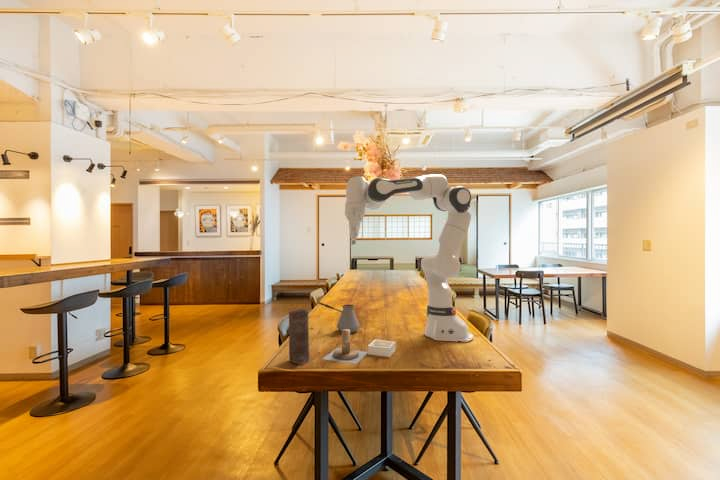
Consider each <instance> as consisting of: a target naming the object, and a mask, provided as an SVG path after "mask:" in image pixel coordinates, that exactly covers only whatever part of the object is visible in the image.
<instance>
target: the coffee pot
mask: <svg viewBox="0 0 720 480" xmlns="http://www.w3.org/2000/svg"><path fill="white" fill-rule="evenodd" d="M318 305H320V306H323V307H326V308H329V309H330V310H335V311H337V312H339V313H341V314H340V316H339V318H338V321H337V323H336V328H337V329H338V331H340V332H341V333H342V330H343V329H350V334H354V333H356V331H358V330H359V328H360V323H359V320H358V318H357V315H356V313H355V311H354V308H355V305H354V304H351V303H350V304H343V305H341V307H342V310H341V309H338V308H336V307H334V306H331V305H328V304H327V303H326V304H325V303H324V302H320V301H318V302H317V305H316V306H318Z"/></svg>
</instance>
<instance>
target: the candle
mask: <svg viewBox="0 0 720 480" xmlns="http://www.w3.org/2000/svg"><path fill="white" fill-rule="evenodd" d="M288 330H289V331H288V341H289V342H288V347H289V348H288V355H289V358H288V361H290V363H293V364H299V365H304V364H308V363H310V340H309V339H310V335H309V333H310V332H309V331H310V330H309V310H308V309H307V308H306V309H305V308H297V309H295V310H289V311H288Z"/></svg>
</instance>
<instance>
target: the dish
mask: <svg viewBox="0 0 720 480" xmlns="http://www.w3.org/2000/svg"><path fill="white" fill-rule="evenodd" d="M396 344H397V342H396V341H393V340H392V341H391V340H383V339H376V338H375V339H374V340H373V341H372V342H370V343H369V344H368V345H367V352H368V353H367V355H371V356H377V357H385V358H391V356H392V355H393V354H394V353H395V351H396V350H397V348H396V347H397V346H396Z"/></svg>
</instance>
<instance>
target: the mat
mask: <svg viewBox="0 0 720 480" xmlns="http://www.w3.org/2000/svg"><path fill="white" fill-rule="evenodd" d="M339 349H342V347H341V348H340V347H337V348H335V349H334V350H332V351H331V352H330V353H329V354H327V355H325V356H324V357H323V358H322V360H325V361H330V362H331V361H333V362H337V363H338V362H340V363H344V364H345V363H346V364H351V365H352V364H353V365H357V364H358V363H359V362H360V361H361V360H362V359H364V357H366V356H367V355H368V351H362V350H357V351H358V352H359V356H358V357H357V358H355V359H351V360H340V359H336V358H334V356H333V352H334V351H336V350H339Z"/></svg>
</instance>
